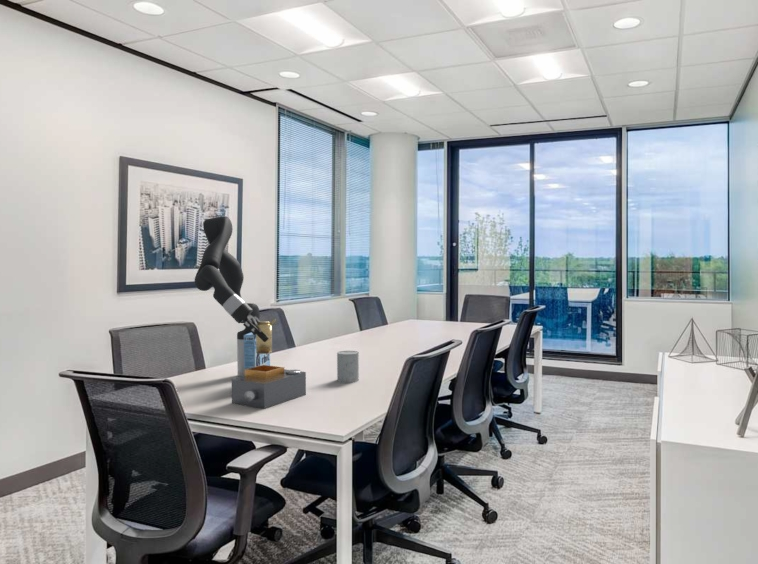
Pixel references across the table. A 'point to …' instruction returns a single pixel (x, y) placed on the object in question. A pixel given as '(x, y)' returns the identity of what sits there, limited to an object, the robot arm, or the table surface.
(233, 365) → the table surface
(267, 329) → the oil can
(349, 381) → the grey stone cylinder
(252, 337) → the gum box
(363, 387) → the table surface
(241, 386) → the grey box with knob
